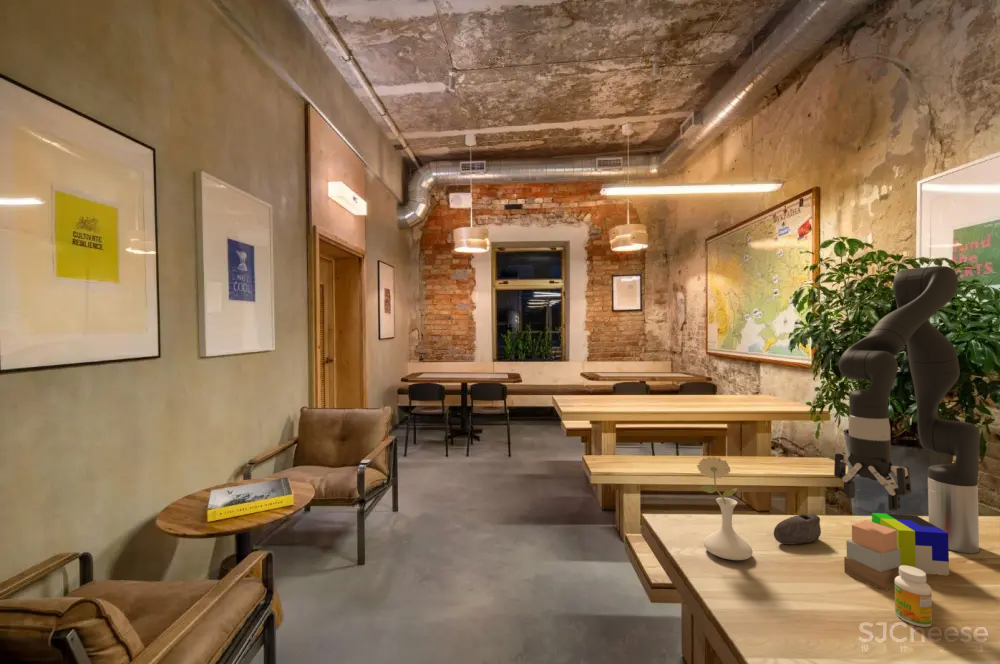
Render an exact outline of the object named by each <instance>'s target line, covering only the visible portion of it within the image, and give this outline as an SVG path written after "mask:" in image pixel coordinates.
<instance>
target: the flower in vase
mask: <svg viewBox="0 0 1000 664" xmlns="http://www.w3.org/2000/svg"><path fill="white" fill-rule="evenodd" d="M696 468H698V469H697V470H698V471H699V473H700V474H701V475H703V476H704V477H708V478H709V479H714V481H713V482H714V487H713V486H711V485H709V484H708V485H707V484H705V485H703V486H701V487H700V488H699V491H702V492H704V493H705V492H706V493H709V494H713V493H715V492H717V493H718V494H719V496H720V497H717V498H715V501H716V502H717V504H718V506H719V508H720V511H721V520H722V522H721V527H720V528H719V529H718V530H716V531H714V532H712V533H710V534H709V535H707V536H706V537H705V538H704V540H703V546H704V548H705V549H706V550H707V551H708V552H709V553H711V554H712V555H714V556H716V557H719V558H722V559H725V560H729V561H745V560H747V559H749V558H750V557H752V556H753V554H754V553H753V549H752V546H751V545H750V544H749V543H748V542H747V541H746V540H745V539H744V538H743V537H741V535H739V534H738V533H737V532H736V531H735V530H734V529H733V522H732V521H733V512H734V509H735V507H736V506H737V505H738V501H737V500H735V499H733V498H729V497H731V496H733V495H734V494H735V493H736V492H737V490H738V487H736V488H732V489H730V488H729V489H726V490H724V492H723V493H721V492H720V491H719V490H718V487H717V482H716V481H717V480H716V479H721V478H726V477H727V476H728V475H729V474H730V473H731V472H732V470H731V467H730V465H729V463H728V462H727V460H724V459H722V458H721V457H716V456H712V457H711V456H709V455H708V456H706V457H703V458H702V459H700V460H699V462H698V464H697V465H696Z"/></svg>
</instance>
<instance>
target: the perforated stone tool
mask: <svg viewBox="0 0 1000 664" xmlns="http://www.w3.org/2000/svg"><path fill="white" fill-rule="evenodd" d="M820 522H821V518H820V516H818V515H817V514H816V513H805V514H804V513H803V514H798V515H794V516H790V517H788V518H786V519H784V520H781V521H779V523H777V524H776V526H775V527H774V529H773V537H774V539H775V541H777V542H778V543H780V544H784V545H799V544H800V545H801V544H807V543H811V542H814V541H818V540H819V538H820V536H821V533H822V531H821V530H822V528H821V523H820Z"/></svg>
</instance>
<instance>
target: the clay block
mask: <svg viewBox="0 0 1000 664" xmlns="http://www.w3.org/2000/svg"><path fill="white" fill-rule="evenodd" d="M851 539H852V542H854V543H857V544H859V545H862V546H865V547H867V548H870V549H873V550H875V551H878V552H881V553H885V552H887V551H890V550H892V549H894V548H897V530H895V529H892V528H889V527H886V526H883V525H879V524H876V523H873V522H872V521H870V520H867V519H865V520H863V521H859V522H857V523H854V524H851Z"/></svg>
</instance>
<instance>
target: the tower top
mask: <svg viewBox="0 0 1000 664" xmlns="http://www.w3.org/2000/svg"><path fill="white" fill-rule="evenodd" d="M846 556H847V558H850V559H852V560H854V561H857V562H859V563H861V564H863V565H866V566H868V567H870V568H872V569H875V570H877V571H879V572H883V571H887V570H890V569H893V568H896V567H899V566H901V561H900V548H894V549H892V550H890V551H887V552H885V553H881V552H878V551H875V550H873V549H870V548H867V547H865V546H862V545H859V544H857V543H854V542H852V538H851V539H848V540H846Z"/></svg>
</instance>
